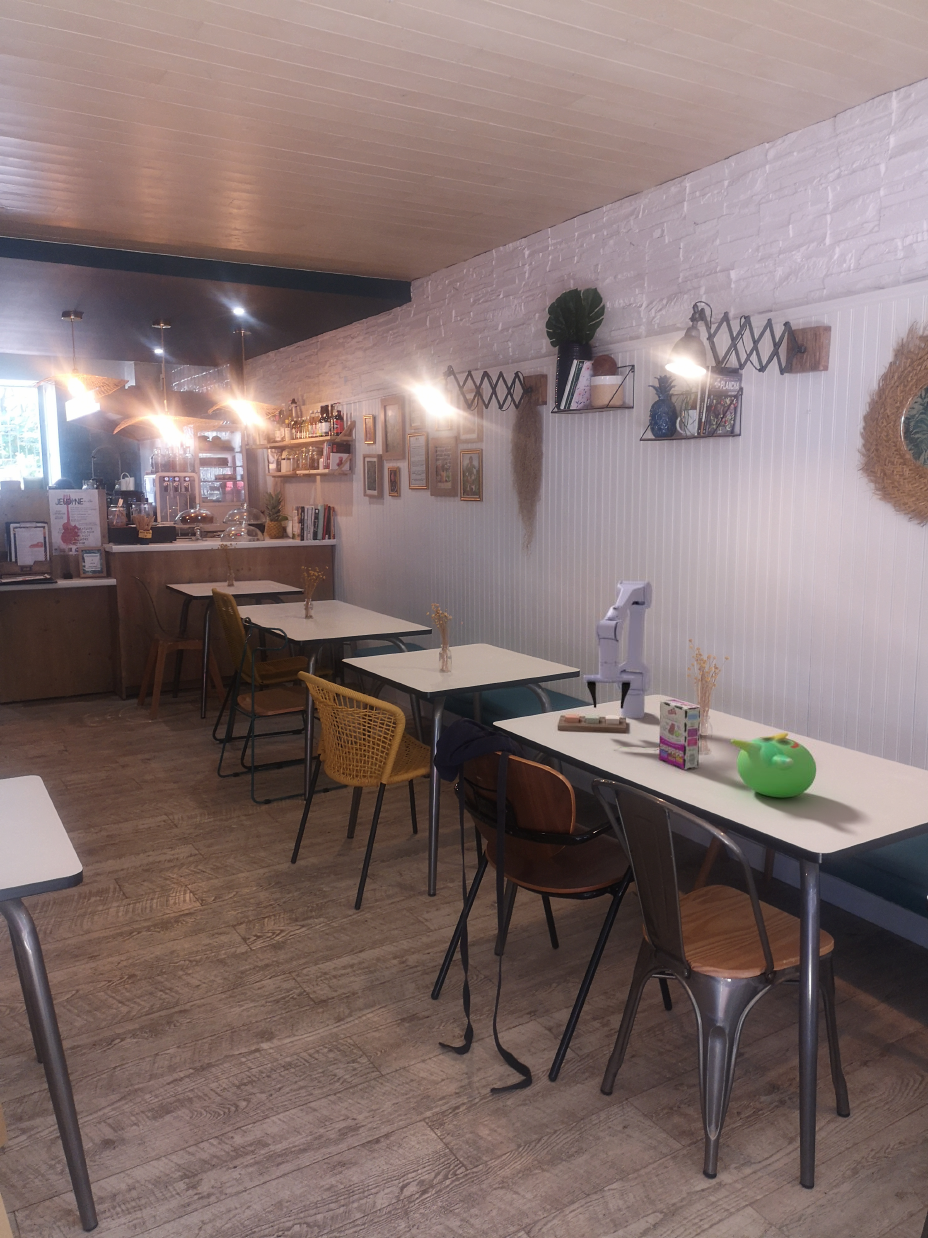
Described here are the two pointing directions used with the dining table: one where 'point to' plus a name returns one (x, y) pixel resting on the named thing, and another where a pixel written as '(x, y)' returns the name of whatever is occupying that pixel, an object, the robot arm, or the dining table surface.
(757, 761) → the toy bird
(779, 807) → the dining table surface
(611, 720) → the cream button
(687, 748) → the candy bar box
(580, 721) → the button panel
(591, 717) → the sage button
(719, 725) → the dining table surface
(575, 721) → the terracotta button
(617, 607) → the robot arm
